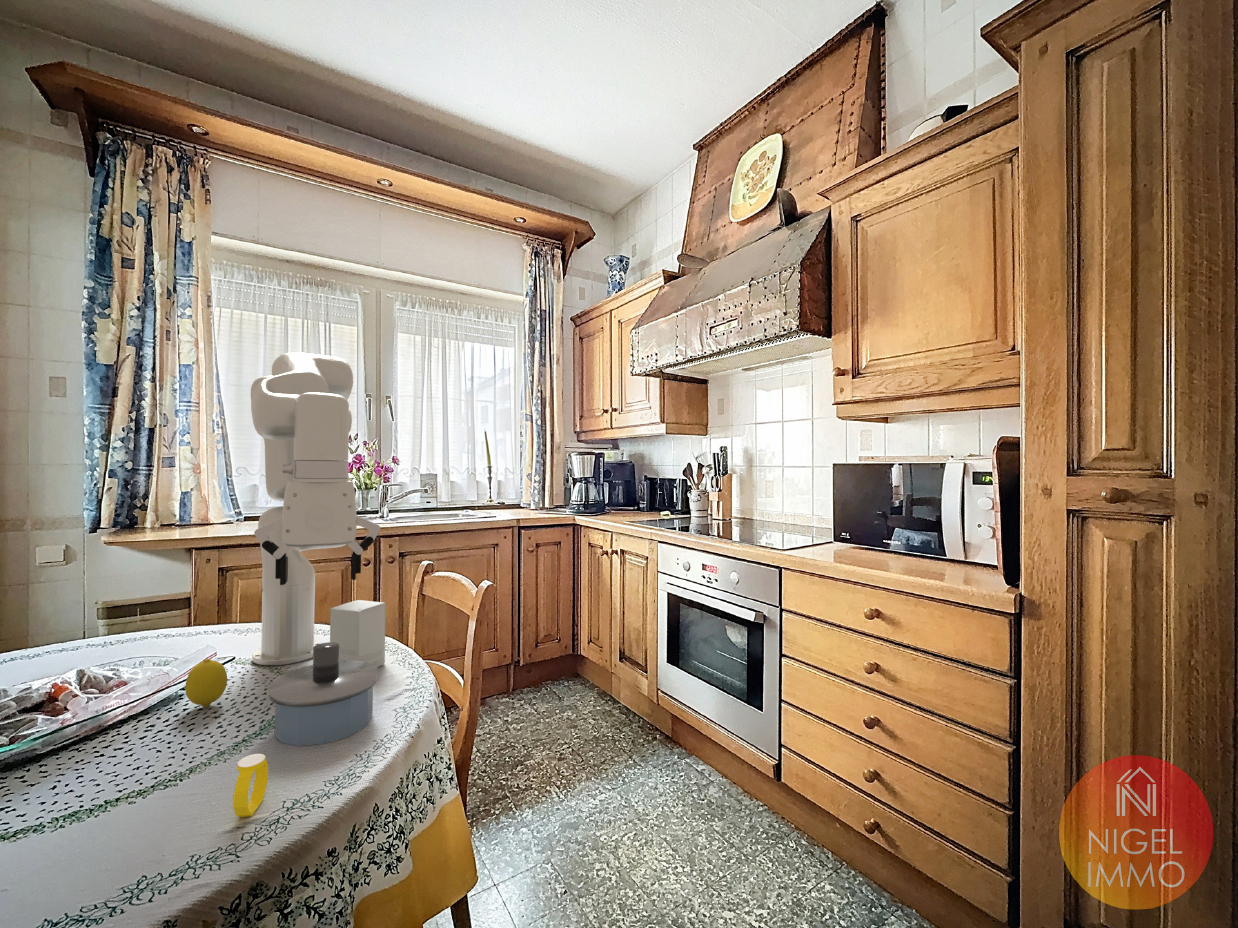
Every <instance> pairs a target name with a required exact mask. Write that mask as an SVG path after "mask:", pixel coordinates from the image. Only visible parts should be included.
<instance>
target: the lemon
mask: <svg viewBox="0 0 1238 928" xmlns="http://www.w3.org/2000/svg"><path fill="white" fill-rule="evenodd" d="M227 684H228V675H227V670H226V668H225V666H224V665H223V664H222V663H221V662H219V661H217V660H212V659H211V658H205V659H204V660H203V661H201V662H199V663H198V664H196V665H194V666H193V667H192V668H191V670H190V671H189V672H188V674H187V677H186V680H185V684H184V685H185V695H186V698H187V699H188V700H189V702H191V703H192V704H194V705H200V706H201V707H203V708H208V707H210V706H211V704H212V703H214V702H216V701H217V700H218V699H220V698H221V697H222V696H223V694H224V692H225V690H226V689H227Z"/></svg>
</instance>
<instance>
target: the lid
mask: <svg viewBox="0 0 1238 928" xmlns="http://www.w3.org/2000/svg"><path fill="white" fill-rule="evenodd" d="M378 680H379V669H378V667H376V666H374V665H373V664H370V663H367V662H362V661H339V643H336V642H330V641H328V642H323V643H321V644H318V645H316V646H314V647H313V657H312V664H310V665H305V666H302V667H299V668H295V669H293V670H290V671H288V672H285V673H283V674H281V675H280V676H277V677H276V678H275V679H274V680H273V681H272V682H271V683H270V684H269V687H268V698H269V700H270V701H271V702H272V703H274V704H275V703H276V704H278V705H282V706H289V707H310V706H319V705H326V704H331V703H335V702H339V701H343V700H346V699H349V698H352V697H355V696H357V695H360V694H362V693H364V692H366V691H367V690H369V689H370V688H372V687H373V688H374V686H375V685H376V684H377V683H378Z"/></svg>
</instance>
